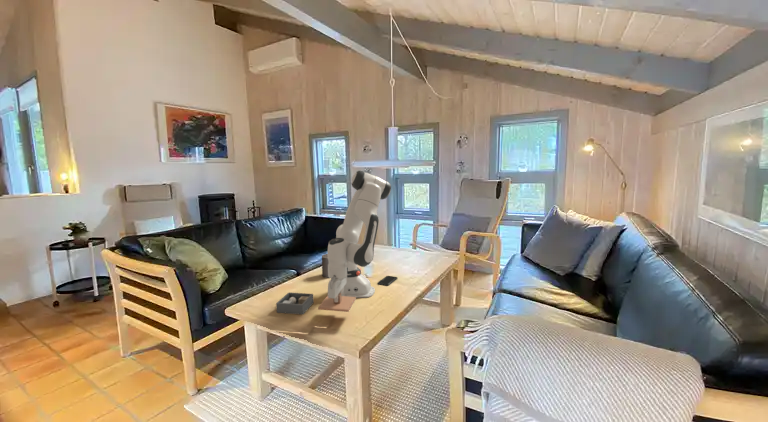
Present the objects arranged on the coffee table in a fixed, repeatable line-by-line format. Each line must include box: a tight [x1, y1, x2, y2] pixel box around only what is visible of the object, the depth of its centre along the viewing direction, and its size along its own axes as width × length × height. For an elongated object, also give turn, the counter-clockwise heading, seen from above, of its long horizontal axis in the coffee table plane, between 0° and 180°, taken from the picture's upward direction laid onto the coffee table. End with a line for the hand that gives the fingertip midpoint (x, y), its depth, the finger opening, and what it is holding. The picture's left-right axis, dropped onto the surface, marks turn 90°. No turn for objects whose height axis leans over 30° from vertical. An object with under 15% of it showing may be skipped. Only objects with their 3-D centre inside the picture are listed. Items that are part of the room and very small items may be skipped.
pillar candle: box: [321, 253, 330, 279], centre depth 222 cm, size 10×10×15 cm
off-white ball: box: [289, 297, 296, 304], centre depth 177 cm, size 4×4×4 cm
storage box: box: [275, 292, 315, 315], centre depth 173 cm, size 14×14×6 cm
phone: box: [376, 275, 398, 287], centre depth 212 cm, size 8×1×15 cm
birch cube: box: [299, 296, 308, 304], centre depth 176 cm, size 4×4×4 cm
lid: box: [317, 293, 357, 313], centre depth 161 cm, size 15×15×5 cm
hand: (337, 299), depth 161 cm, fingers closed on lid, 3 cm apart
